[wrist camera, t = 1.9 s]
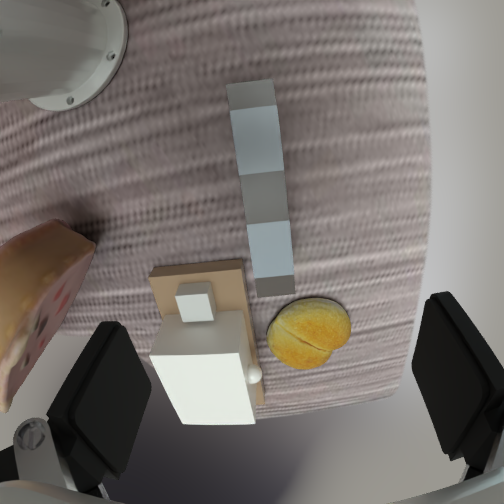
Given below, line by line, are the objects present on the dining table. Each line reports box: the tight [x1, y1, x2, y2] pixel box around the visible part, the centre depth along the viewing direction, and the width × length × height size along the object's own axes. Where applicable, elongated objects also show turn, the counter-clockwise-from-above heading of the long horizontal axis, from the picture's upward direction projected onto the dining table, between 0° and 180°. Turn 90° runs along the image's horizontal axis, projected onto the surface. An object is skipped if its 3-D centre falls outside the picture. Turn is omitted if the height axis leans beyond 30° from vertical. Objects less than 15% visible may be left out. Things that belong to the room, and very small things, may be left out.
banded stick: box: [226, 79, 295, 297], centre depth 25 cm, size 16×3×6 cm, turn 8°
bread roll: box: [267, 298, 351, 369], centre depth 33 cm, size 8×9×4 cm
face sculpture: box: [0, 219, 96, 413], centre depth 25 cm, size 20×7×17 cm, turn 141°
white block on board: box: [148, 259, 265, 425], centre depth 32 cm, size 20×10×8 cm, turn 8°
